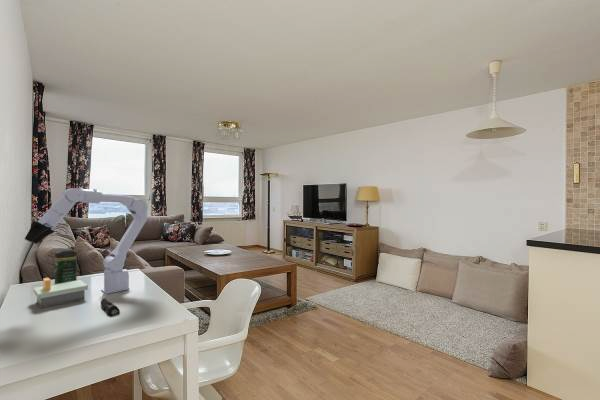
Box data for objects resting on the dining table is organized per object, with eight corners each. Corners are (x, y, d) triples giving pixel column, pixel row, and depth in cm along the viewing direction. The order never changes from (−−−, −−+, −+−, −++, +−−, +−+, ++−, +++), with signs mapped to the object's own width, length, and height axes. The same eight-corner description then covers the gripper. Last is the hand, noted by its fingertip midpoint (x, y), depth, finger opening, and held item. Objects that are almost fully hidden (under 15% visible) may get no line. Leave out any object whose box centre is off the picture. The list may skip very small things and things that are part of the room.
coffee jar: (78, 288, 140) (78, 249, 140) (57, 292, 134) (56, 251, 134) (73, 284, 147) (73, 246, 146) (53, 287, 141) (53, 248, 140)
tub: (78, 293, 133) (78, 282, 132) (84, 298, 126) (84, 287, 126) (36, 301, 122) (36, 289, 122) (40, 308, 115) (40, 295, 115)
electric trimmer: (109, 304, 121) (109, 296, 121) (120, 314, 111) (120, 306, 111) (98, 306, 119) (98, 298, 119) (109, 317, 108) (108, 308, 108)
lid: (80, 283, 134) (80, 270, 134) (87, 289, 126) (87, 275, 126) (33, 292, 122) (33, 278, 122) (38, 298, 114) (38, 283, 114)
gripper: (51, 210, 127) (25, 238, 121) (41, 203, 115) (13, 233, 109) (67, 219, 129) (43, 247, 123) (60, 213, 117) (33, 243, 111)
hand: (30, 241), depth 116 cm, fingers open, 7 cm apart
